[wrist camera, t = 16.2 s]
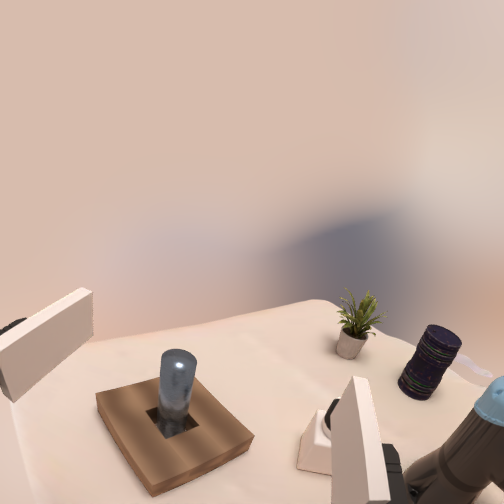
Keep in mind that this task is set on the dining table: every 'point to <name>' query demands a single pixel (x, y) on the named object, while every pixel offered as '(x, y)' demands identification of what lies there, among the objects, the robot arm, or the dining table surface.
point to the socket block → (174, 448)
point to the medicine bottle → (317, 443)
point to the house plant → (355, 328)
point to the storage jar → (429, 362)
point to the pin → (175, 391)
